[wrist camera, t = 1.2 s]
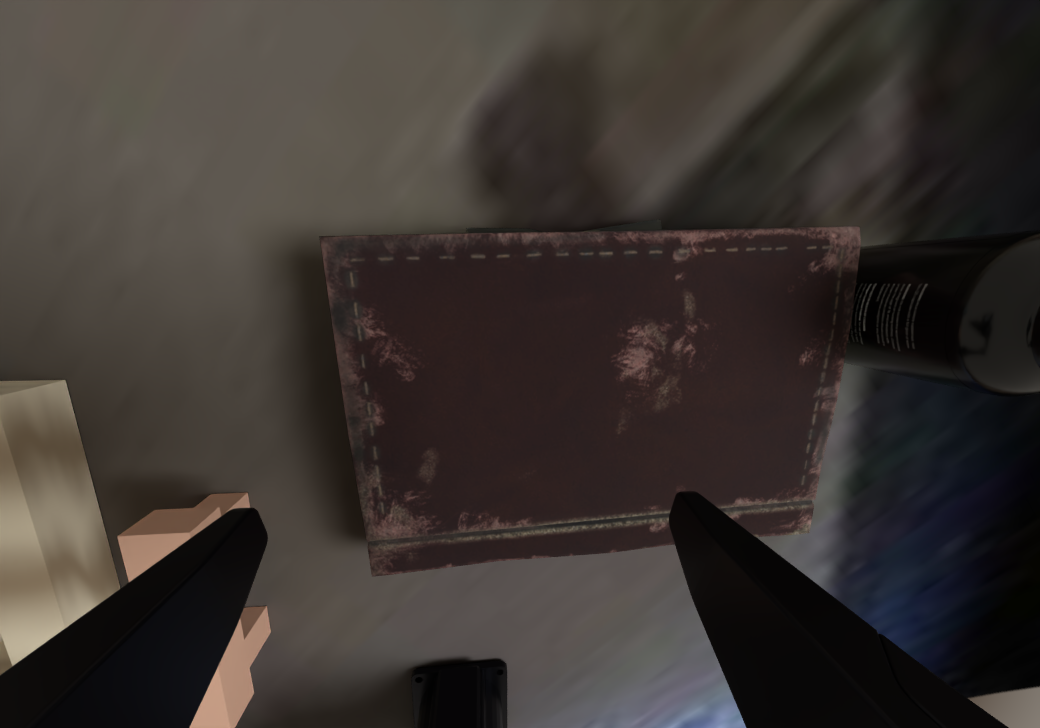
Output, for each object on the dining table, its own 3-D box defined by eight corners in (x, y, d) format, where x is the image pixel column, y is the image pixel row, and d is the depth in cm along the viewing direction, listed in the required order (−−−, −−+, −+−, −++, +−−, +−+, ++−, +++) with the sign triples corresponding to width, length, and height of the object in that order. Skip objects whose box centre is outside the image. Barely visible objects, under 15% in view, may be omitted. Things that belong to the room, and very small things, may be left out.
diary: (752, 498, 27) (813, 548, 22) (392, 531, 25) (371, 595, 20) (790, 220, 22) (876, 206, 18) (354, 228, 20) (313, 214, 15)
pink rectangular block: (281, 643, 25) (231, 733, 20) (232, 647, 24) (169, 739, 19) (254, 476, 22) (189, 532, 17) (198, 478, 22) (117, 536, 17)
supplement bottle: (845, 376, 24) (1176, 465, 13) (767, 326, 23) (1057, 373, 12) (913, 283, 24) (1338, 286, 12) (836, 224, 22) (1228, 163, 11)
